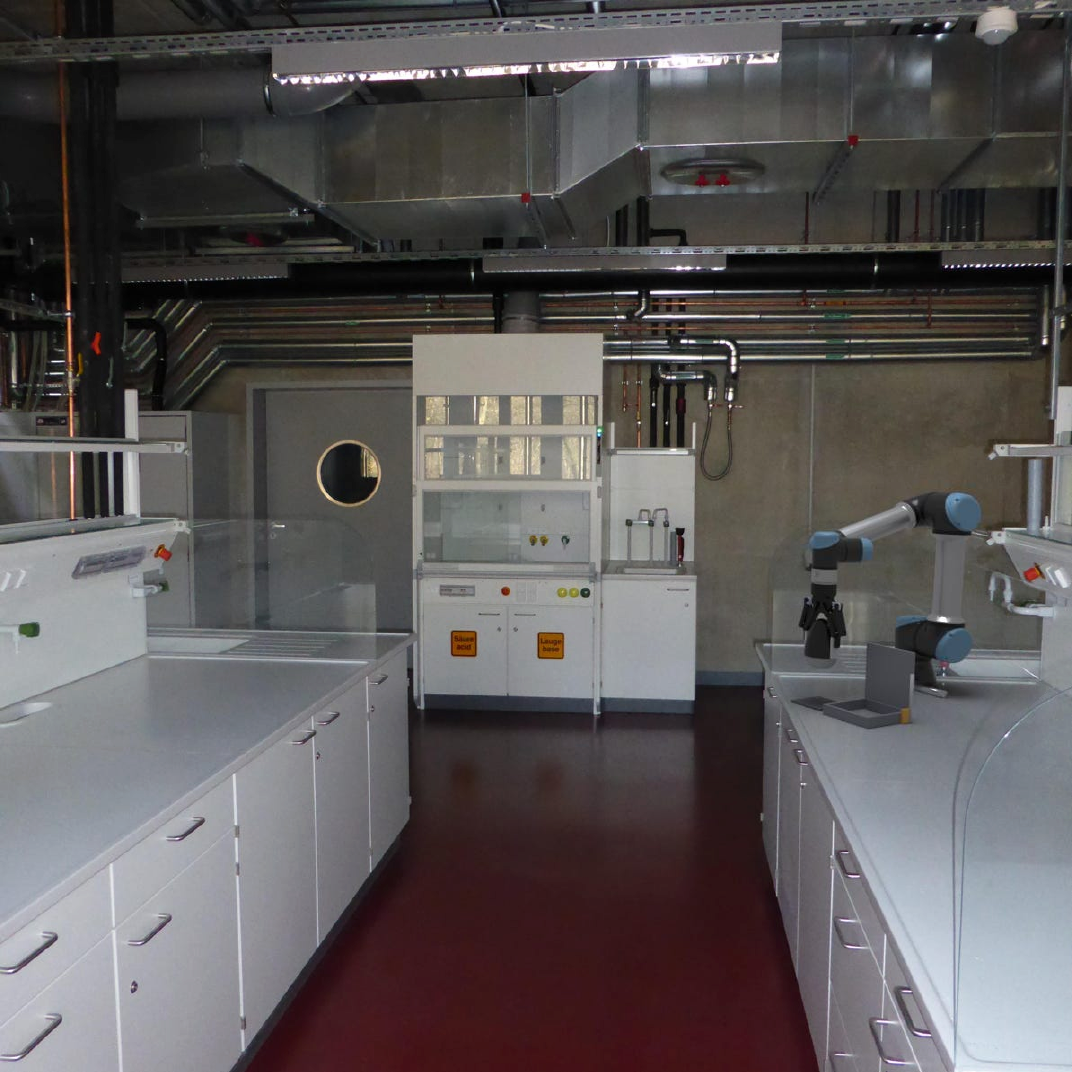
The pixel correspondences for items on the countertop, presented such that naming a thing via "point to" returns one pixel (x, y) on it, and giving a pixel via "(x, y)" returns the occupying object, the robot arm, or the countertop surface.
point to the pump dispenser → (819, 645)
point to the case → (881, 689)
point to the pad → (813, 702)
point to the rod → (930, 690)
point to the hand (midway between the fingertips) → (820, 654)
